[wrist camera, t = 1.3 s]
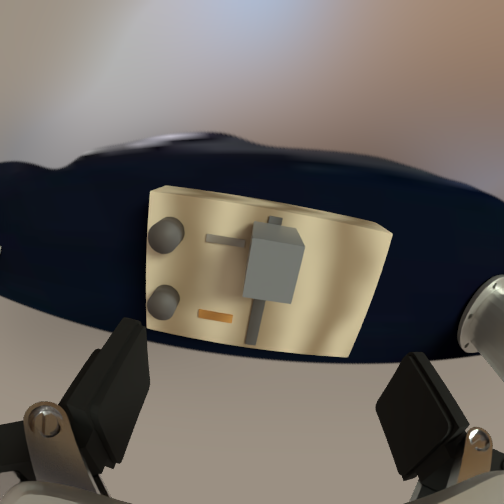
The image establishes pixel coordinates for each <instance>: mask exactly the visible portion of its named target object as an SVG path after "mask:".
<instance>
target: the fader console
mask: <svg viewBox="0 0 504 504" xmlns="http://www.w3.org/2000/svg"><path fill="white" fill-rule="evenodd" d="M254 221H258V222H264V223H269V224H275V225H281V226H287V227H292V228H296V229H297V231H298V233H299V235H300V237H301V239H302V241H303V243H304V245H305V250H304V254H303V258H302V263H301V267H300V271H299V275H298V279H297V283H296V287H295V291H294V294H293V298H292V302H291V304H287V303H279V302H273V301H266V300H259V299H253V298H246V297H242V296H243V287H244V279H245V270H246V264H247V258H248V252H249V247H250V241H251V235H252V229H253V223H254ZM392 235H393V234H392V233H391V232H389V231H388V230H386V229H385V228H383V227H381V226H380V225H378V224H377V223H375V222H371V221H367V220H362V219H358V218H353V217H349V216H344V215H339V214H335V213H330V212H325V211H320V210H315V209H310V208H305V207H300V206H295V205H289V204H284V203H278V202H273V201H267V200H261V199H255V198H249V197H243V196H237V195H231V194H224V193H218V192H211V191H204V190H197V189H189V188H182V187H174V186H163V187H161V188H158V189H155V190H152V191H150V201H149V214H148V230H147V254H146V316H147V328H148V329H152V330H157V331H161V332H166V333H170V334H175V335H180V336H185V337H190V338H195V339H200V340H206V341H211V342H217V343H223V344H229V345H235V346H242V347H249V348H256V349H263V350H271V351H280V352H289V353H298V354H309V355H321V356H336V357H348V356H349V353H350V351H351V349H352V347H353V344H354V342H355V340H356V337H357V335H358V333H359V330H360V328H361V325H362V323H363V320H364V318H365V315H366V313H367V310H368V308H369V305H370V302H371V300H372V297H373V294H374V291H375V289H376V286H377V283H378V280H379V277H380V274H381V271H382V268H383V265H384V262H385V259H386V255H387V252H388V249H389V245H390V242H391V238H392Z"/></svg>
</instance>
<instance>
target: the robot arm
mask: <svg viewBox="0 0 504 504" xmlns="http://www.w3.org/2000/svg"><path fill="white" fill-rule="evenodd" d="M457 338H458V343H459V345H460V347H461V348H462V349H463V350H464V351H465V352H468V353H475V352H478V351H479V353H480V354H481V355H482V356H483V357H484V358H485V360H486V361H487V362H488V363H489V364H490V366H491V367H492V368H493V369H494V371H495V372H496V373H497V374H498V376H499V377H500V378H501V379H502V381H503V382H504V275H497V276H495V277H492V278H491V279H489V280H488V281H487V282H485V283H484V284H483V285H482V286H481V287H480V288H479V289H478V291H477V292H476V293H475V294H474V296H473V297H472V298H471V300H470V302H469V303H468V305H467V307H466V309H465V311H464V313H463V315H462V317H461V320H460V323H459V327H458V334H457ZM149 386H150V376H149V366H148V353H147V336H146V327H145V326H142V325H141V322H140V321H138V320H134V319H129V318H123V319H122V320H121V322H120V323H119V325H118V326H117V327H116V329H115V330H114V332H113V333H112V334H111V336H110V337H109V339H108V340H107V342H106V343H105V345H104V346H103V348H102V349H96V350H95V351H94V352H93V353H92V354H91V356H90V357H89V359H88V360H87V361H86V363H85V364H84V366H83V368H82V369H81V370H80V372H79V373H78V375H77V376H76V378H75V379H74V381H73V382H72V384H71V385H70V387H69V388H68V390H67V392H66V393H65V395H64V396H63V398H62V399H61V401H60V403H59V404H58V405H57V404H55V403H52V402H48V401H45V402H44V401H41V402H38V403H35V404H33V405H32V406H30V407H29V408H28V409H27V411H26V412H25V415H24V417H23V421H18V422H13V423H8V424H2V425H0V500H1V501H0V504H131V503H127V502H123V501H120V500H116V499H113V498H112V497H111V496H110V494H109V492H108V490H107V488H106V486H105V484H104V482H103V480H102V478H101V476H100V474H101V473H102V472H103V469H104V467H105V466H106V467H109V468H112V469H114V467H115V464H116V463H119V464H120V463H121V462H122V459H123V457H124V454H125V451H126V448H127V445H128V442H129V440H130V437H131V435H132V432H133V429H134V426H135V424H136V421H137V418H138V416H139V413H140V410H141V408H142V405H143V403H144V400H145V398H146V395H147V393H148V390H149ZM376 412H377V415H378V417H379V420H380V423H381V425H382V428H383V431H384V433H385V436H386V438H387V441H388V444H389V447H390V450H391V453H392V455H393V458H394V461H395V464H396V467H397V470H398V472H399V474H400V475H402V478H403V481H406V480H409V479H413V478H415V477H416V476H417V475H418V477H419V480H418V482H417V485H416V487H415V490H414V492H413V494H412V497H411V499H410V501H409V502H408V503H405V504H504V453H501V452H499V451H497V450H495V449H492V448H493V443H492V439H491V436H490V435H489V433H488V432H487V431H486V430H484V429H482V428H480V427H473V428H470V429H469V430H468V432H467V433H466V432H465V429H466V428H467V427H468V426H469V422H468V421H467V419H466V417H465V416H464V414H463V412H462V411H461V409H460V407H459V406H458V404H457V402H456V401H455V399H454V398H453V396H452V394H451V393H450V391H449V390H448V388H447V387H446V385H445V384H444V382H443V381H442V379H441V378H440V376H439V375H438V373H437V372H436V370H435V369H434V367H433V366H432V364H431V363H430V361H429V360H428V358H427V357H426V355H425V354H424V353H423V352H410V353H408V354H407V355H406V356H405V357H404V358H403V359H402V361H401V363H400V365H399V367H398V368H397V370H396V372H395V374H394V375H393V377H392V379H391V380H390V382H389V384H388V385H387V387H386V388H385V390H384V392H383V393H382V395H381V397H380V398H379V399H378V401H377V404H376ZM3 495H4V496H3Z"/></svg>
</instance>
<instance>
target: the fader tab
mask: <svg viewBox="0 0 504 504" xmlns="http://www.w3.org/2000/svg"><path fill="white" fill-rule="evenodd" d="M304 250H305V245H304V243H303V241H302V239H301V237H300V235H299V233H298V231H297V229H296V228H292V227H287V226H281V225H275V224H269V223H264V222H258V221H254V223H253V229H252V235H251V241H250V247H249V252H248V258H247V264H246V270H245V279H244V287H243V296H242V297H246V298H253V299H259V300H266V301H273V302H279V303H287V304H291V302H292V298H293V294H294V291H295V287H296V283H297V279H298V275H299V271H300V267H301V263H302V258H303V254H304Z"/></svg>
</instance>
